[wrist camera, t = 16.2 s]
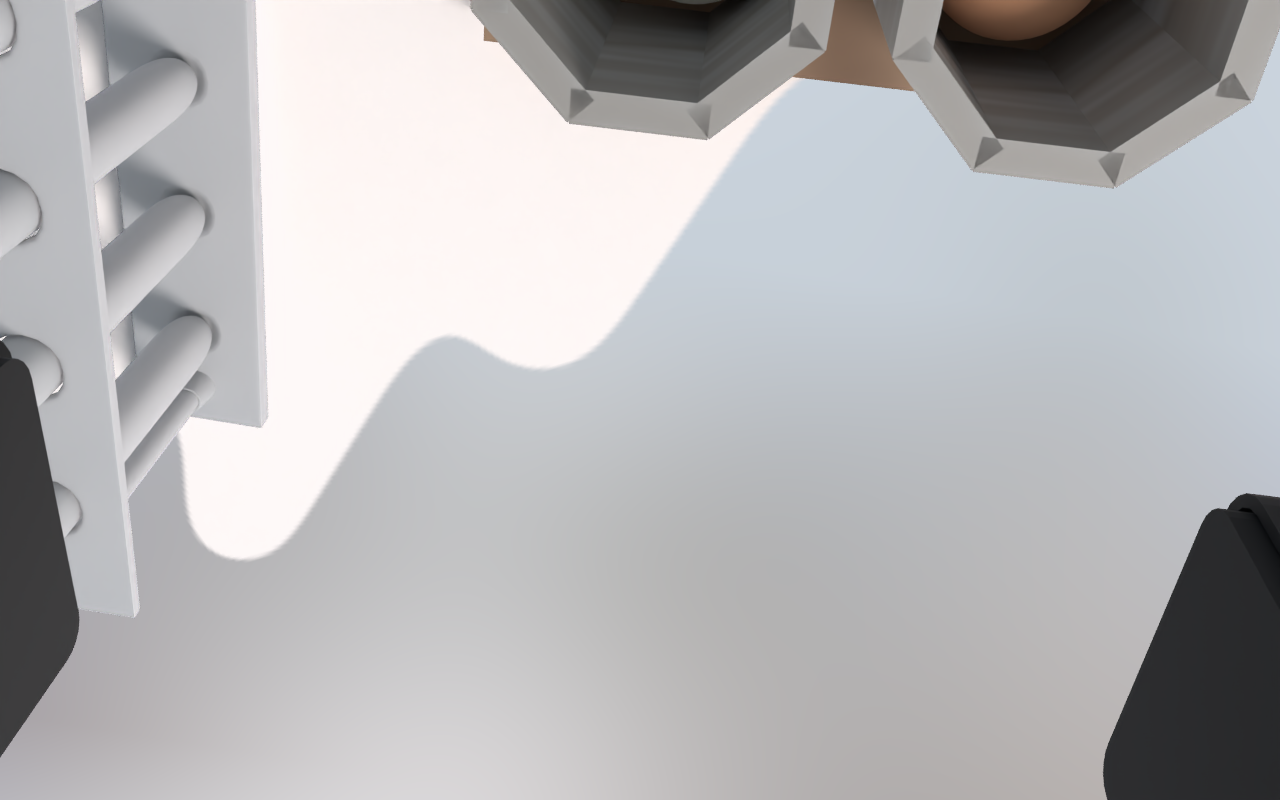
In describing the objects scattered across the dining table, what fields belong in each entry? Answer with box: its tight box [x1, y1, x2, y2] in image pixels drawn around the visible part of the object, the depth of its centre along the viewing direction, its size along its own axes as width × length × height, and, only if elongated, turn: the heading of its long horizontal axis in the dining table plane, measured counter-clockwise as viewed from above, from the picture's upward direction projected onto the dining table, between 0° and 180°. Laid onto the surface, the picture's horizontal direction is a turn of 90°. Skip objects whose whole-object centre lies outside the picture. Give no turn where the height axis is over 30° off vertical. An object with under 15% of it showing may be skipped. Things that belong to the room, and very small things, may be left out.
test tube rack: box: [0, 0, 268, 618], centre depth 32 cm, size 25×4×13 cm, turn 172°
